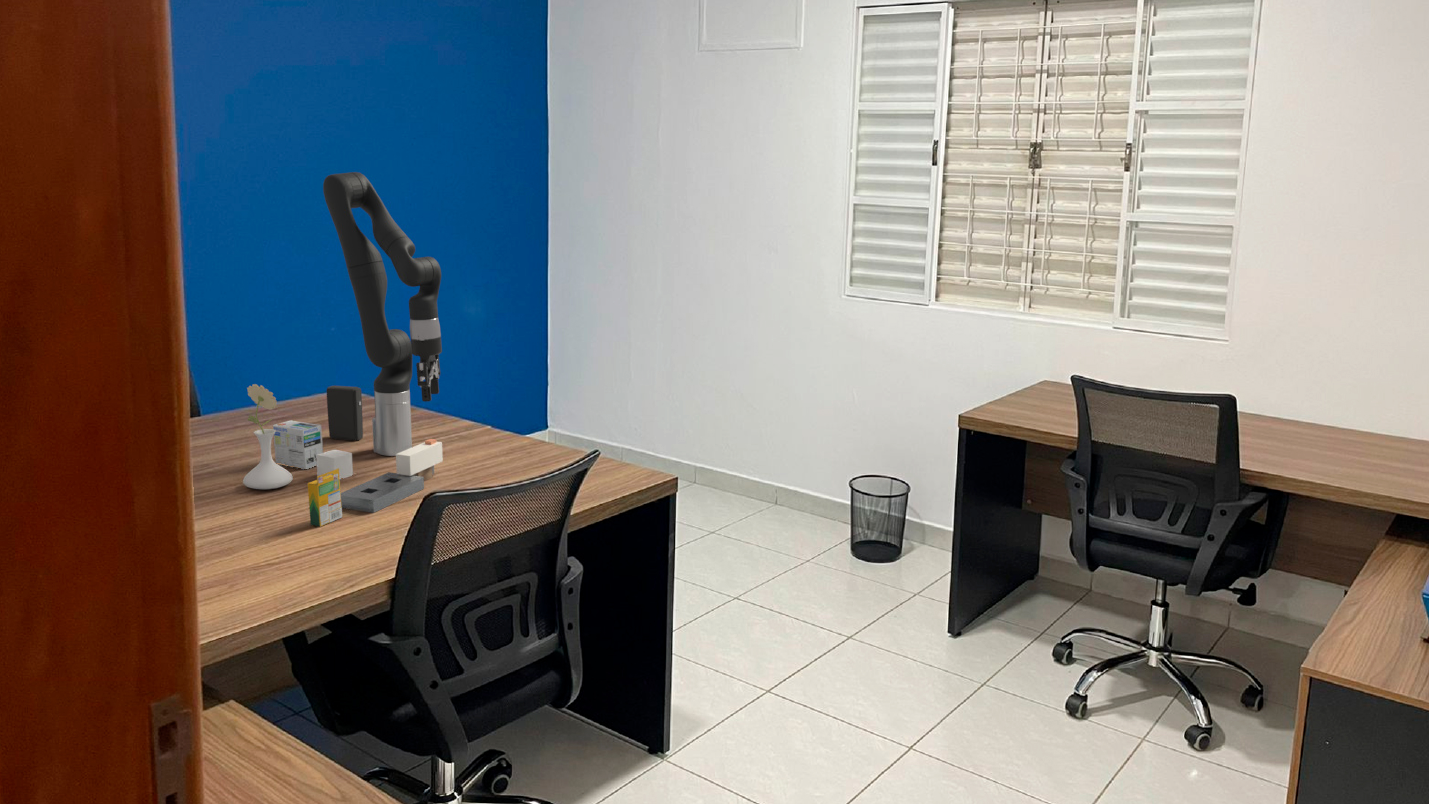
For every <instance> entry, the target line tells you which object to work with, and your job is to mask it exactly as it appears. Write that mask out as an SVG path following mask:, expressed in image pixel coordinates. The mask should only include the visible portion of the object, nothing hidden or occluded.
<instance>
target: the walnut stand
mask: <svg viewBox="0 0 1429 804" xmlns="http://www.w3.org/2000/svg"><path fill="white" fill-rule="evenodd" d="M414 476H421V477H424V482H426V481H428V480H430V479H432V478H433V474H432V466H431V467H429V468H427V469H424V470H422V471H420V472H418V473H416V474H414ZM429 478H430V479H429Z"/></svg>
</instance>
